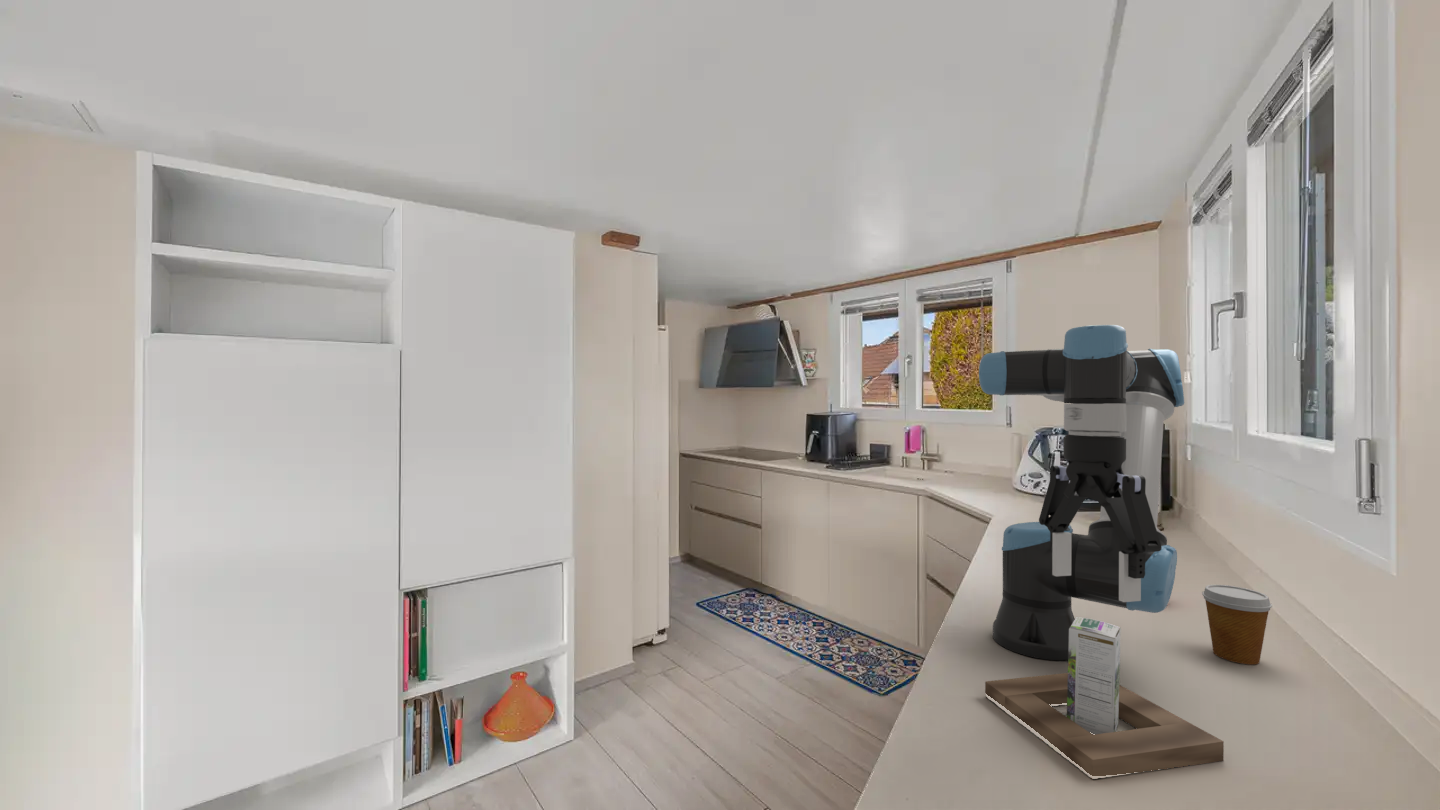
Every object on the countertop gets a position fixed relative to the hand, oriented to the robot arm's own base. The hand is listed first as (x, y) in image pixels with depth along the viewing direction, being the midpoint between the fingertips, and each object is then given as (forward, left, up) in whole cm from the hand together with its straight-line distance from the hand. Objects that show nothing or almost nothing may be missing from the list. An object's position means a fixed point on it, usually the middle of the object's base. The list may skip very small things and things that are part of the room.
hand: (1093, 587), depth 81 cm
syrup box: (0, 0, -20) cm, 20 cm away
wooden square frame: (0, 0, -20) cm, 20 cm away
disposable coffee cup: (-14, +45, -20) cm, 51 cm away
